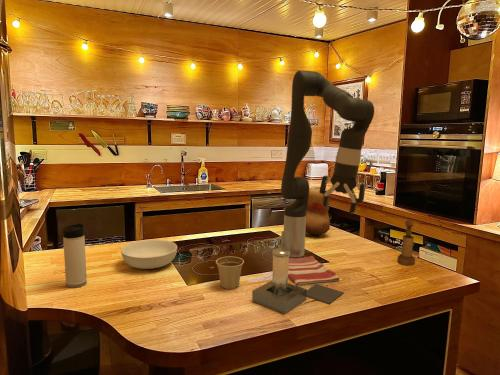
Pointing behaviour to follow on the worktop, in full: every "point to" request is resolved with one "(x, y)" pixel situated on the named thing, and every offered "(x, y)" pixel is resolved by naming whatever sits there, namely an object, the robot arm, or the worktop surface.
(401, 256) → the pepper mill
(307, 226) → the butternut squash
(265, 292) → the bore block
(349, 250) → the worktop surface
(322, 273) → the dish towel
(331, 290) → the rubber mat
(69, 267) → the travel mug
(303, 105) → the robot arm
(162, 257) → the serving bowl
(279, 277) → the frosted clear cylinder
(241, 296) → the worktop surface
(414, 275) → the worktop surface
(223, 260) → the flower pot
